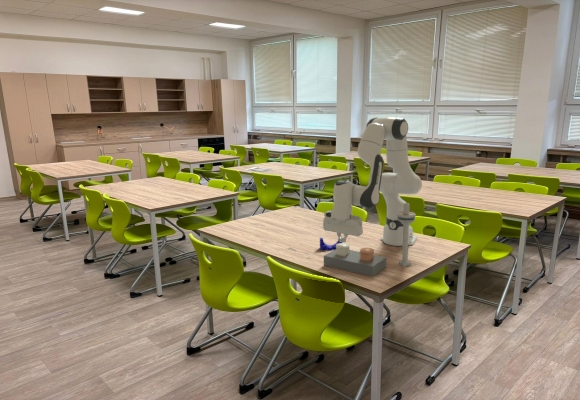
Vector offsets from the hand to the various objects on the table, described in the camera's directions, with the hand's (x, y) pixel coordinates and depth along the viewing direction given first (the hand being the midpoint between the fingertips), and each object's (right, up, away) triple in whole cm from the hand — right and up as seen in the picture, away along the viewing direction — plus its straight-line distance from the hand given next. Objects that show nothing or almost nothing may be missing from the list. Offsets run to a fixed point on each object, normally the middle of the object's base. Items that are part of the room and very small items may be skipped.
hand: (342, 241), depth 199 cm
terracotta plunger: (+11, -9, -6) cm, 15 cm away
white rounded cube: (0, -7, +2) cm, 8 cm away
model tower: (+30, -11, -1) cm, 32 cm away
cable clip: (-3, -7, +25) cm, 26 cm away
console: (+6, -12, -1) cm, 13 cm away
